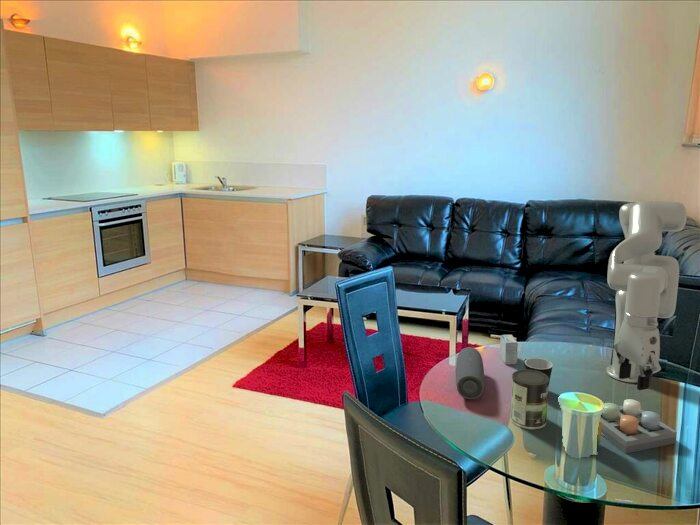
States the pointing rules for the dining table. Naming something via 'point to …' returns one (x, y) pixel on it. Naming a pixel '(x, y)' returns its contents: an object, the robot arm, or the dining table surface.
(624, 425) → the button terracotta
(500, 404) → the dining table surface
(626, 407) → the button cream
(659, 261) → the robot arm
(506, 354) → the medicine box
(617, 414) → the button sage
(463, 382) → the bluetooth speaker
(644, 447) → the grey square tray
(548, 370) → the coffee mug
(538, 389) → the coffee can
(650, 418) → the button slate
